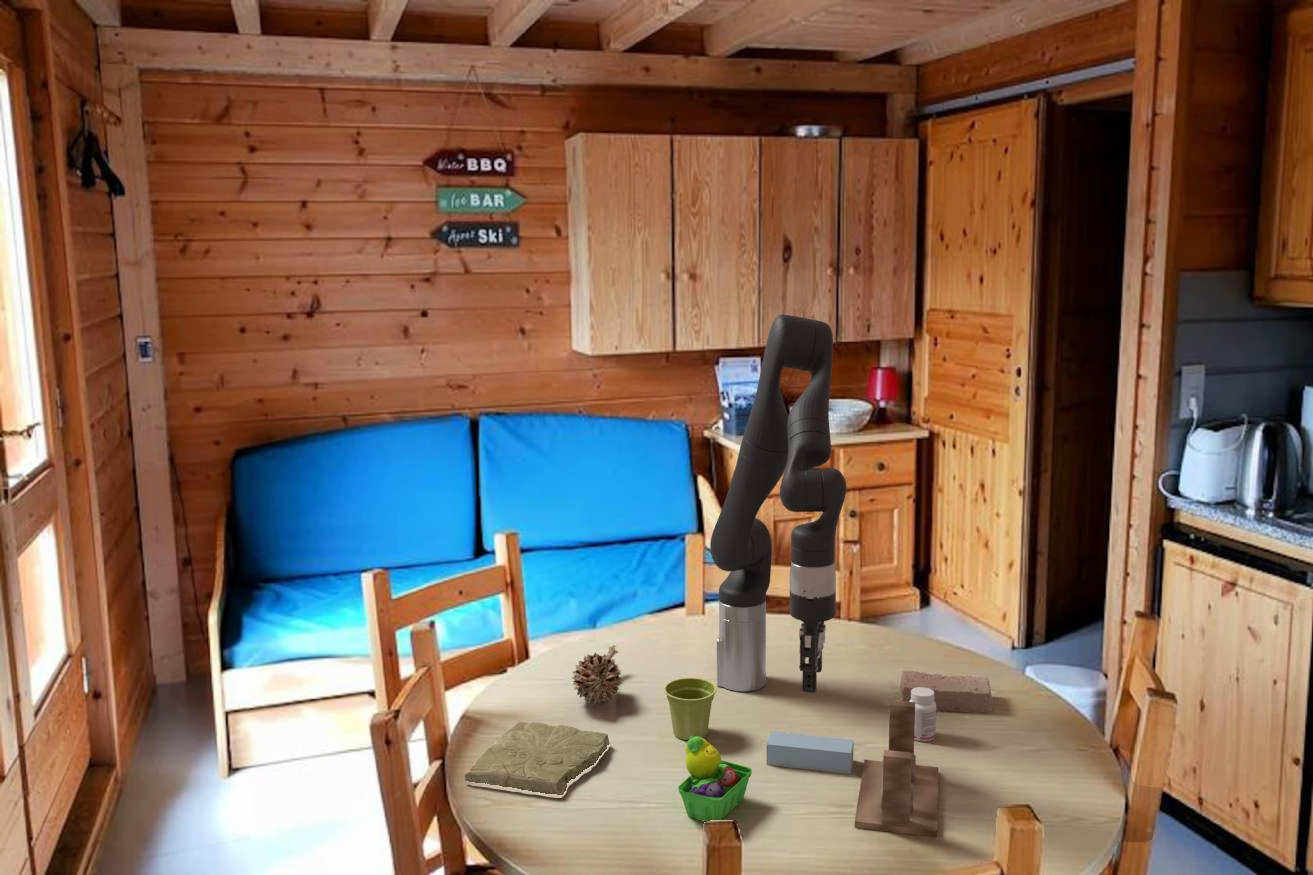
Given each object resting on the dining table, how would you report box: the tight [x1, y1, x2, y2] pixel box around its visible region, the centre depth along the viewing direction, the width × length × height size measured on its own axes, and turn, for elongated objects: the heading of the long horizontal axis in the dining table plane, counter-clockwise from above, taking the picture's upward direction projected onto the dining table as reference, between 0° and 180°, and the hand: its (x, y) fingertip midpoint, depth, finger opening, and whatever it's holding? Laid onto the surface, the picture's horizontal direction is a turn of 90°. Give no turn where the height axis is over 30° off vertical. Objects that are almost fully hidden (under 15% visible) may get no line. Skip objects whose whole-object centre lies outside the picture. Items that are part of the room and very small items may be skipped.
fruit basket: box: [677, 736, 753, 822], centre depth 170 cm, size 11×9×11 cm
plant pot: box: [663, 677, 718, 741], centre depth 195 cm, size 9×9×9 cm
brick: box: [899, 670, 994, 713], centre depth 207 cm, size 16×8×5 cm, turn 79°
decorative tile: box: [464, 721, 611, 795], centre depth 185 cm, size 19×20×4 cm
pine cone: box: [571, 644, 622, 706], centre depth 213 cm, size 22×10×10 cm, turn 175°
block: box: [766, 731, 855, 775], centre depth 184 cm, size 5×14×4 cm, turn 75°
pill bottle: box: [909, 687, 937, 743], centre depth 192 cm, size 5×5×8 cm
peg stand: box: [854, 699, 939, 838], centre depth 171 cm, size 12×20×12 cm, turn 165°
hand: (812, 681), depth 182 cm, fingers open, 8 cm apart
